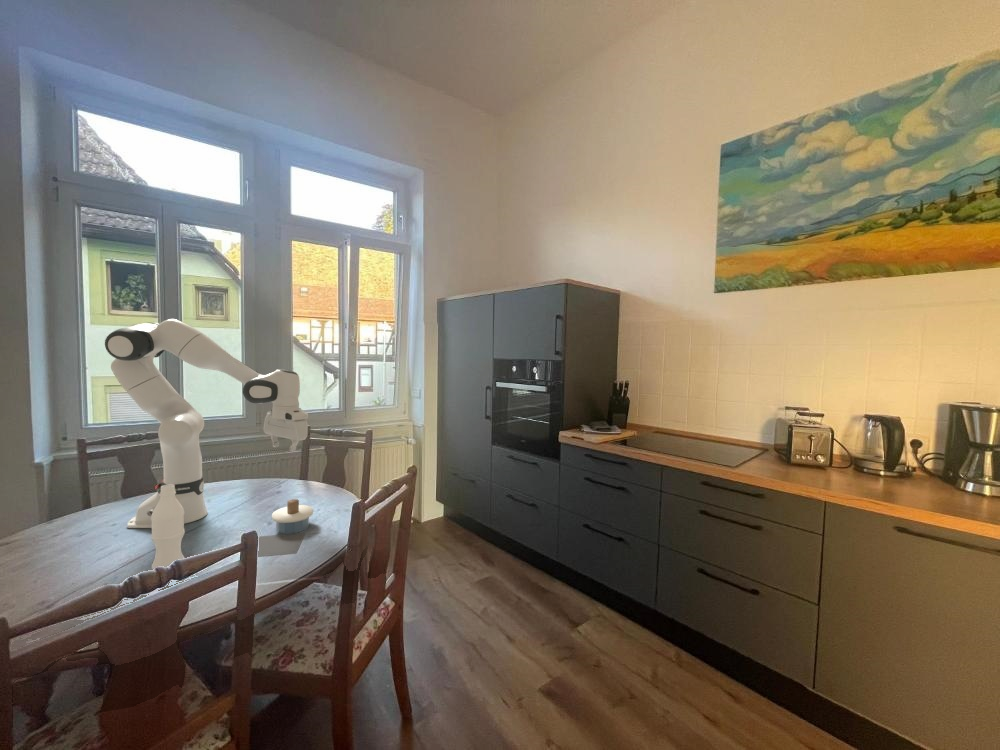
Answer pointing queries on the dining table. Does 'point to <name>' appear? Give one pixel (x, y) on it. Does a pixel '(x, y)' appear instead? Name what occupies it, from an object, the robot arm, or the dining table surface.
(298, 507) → the lid
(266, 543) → the mat
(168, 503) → the water bottle
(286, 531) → the bowl
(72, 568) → the dining table surface
